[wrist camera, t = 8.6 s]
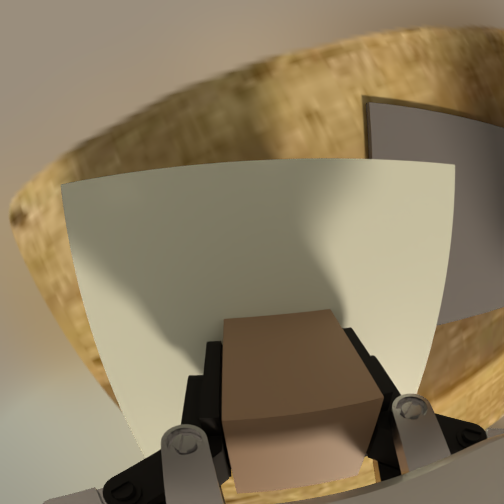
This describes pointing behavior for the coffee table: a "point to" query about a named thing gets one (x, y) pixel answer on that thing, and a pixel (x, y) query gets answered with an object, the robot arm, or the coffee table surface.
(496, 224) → the mat
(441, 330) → the coffee table surface
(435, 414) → the robot arm
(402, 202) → the lid sheet
